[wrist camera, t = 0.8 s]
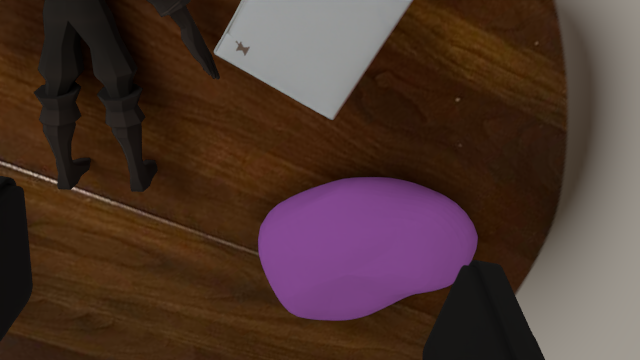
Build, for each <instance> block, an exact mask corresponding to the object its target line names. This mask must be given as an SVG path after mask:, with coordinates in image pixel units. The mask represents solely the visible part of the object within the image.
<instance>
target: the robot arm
mask: <svg viewBox="0 0 640 360" xmlns="http://www.w3.org/2000/svg"><path fill="white" fill-rule="evenodd" d="M32 286H33V283H32V272H31V262H30V251H29V240H28V230H27V219H26V208H25V197H24V191H23V189H22V188H21V187H19V186H16V183H15V181H14V179H12V178H9V177H3V176H0V341H1V340H2V338H3V337H4V335H5V334H6V333H7V331H8V330H9V328H10V327H11V325H12V324H13V322H14V321H15V320H16V318H17V317H18V315H19V314H20V312H21V311H22V309H23V308H24V307H25V305H26V304H27V302H28V300H29V298H30V296H31V292H32ZM423 360H545V359H544V356H543V354H542V352H541V350H540V348H539V345H538V343H537V341H536V339H535V337H534V336H533V334H532V332H531V330H530V328H529V326H528V323H527V321H526V319H525V317H524V315H523V312H522V310H521V308H520V306H519V304H518V301H517V299H516V297H515V295H514V293H513V290H512V288H511V286H510V284H509V282H508V280H507V277H506V275H505V273H504V271H503V269H502V267H501V266H500V265H498V264H494V263H488V262H483V261H477V260H473V261H472V262H470V264H469V265H463V266H462V267H461V269H460V271H459V273H458V275H457V277H456V279H455V281H454V283H453V286H452V288H451V290H450V292H449V294H448V296H447V299H446V301H445V303H444V305H443V307H442V309H441V312H440V314H439V316H438V318H437V320H436V322H435V325H434V327H433V329H432V331H431V333H430V335H429V338H428V340H427V342H426V344H425V347H424V350H423Z"/></svg>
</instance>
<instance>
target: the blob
mask: <svg viewBox="0 0 640 360" xmlns="http://www.w3.org/2000/svg"><path fill="white" fill-rule="evenodd" d="M477 239H478V236H477V233H476V230H475V227H474V224H473V222H472V221H471V219H470V218H469V217H468V215H467V214H466V212H465V211H464V210H463V209H462V208H461V207H460V206H459V205H458V204H457V203H455V202H454V201H452V200H451V199H449V198H448V197H446V196H445V195H443V194H440V193H438V192H436V191H434V190H431V189H429V188H427V187H424V186H421V185H418V184H416V183H412V182H409V181H405V180H400V179H394V178H384V177H356V178H347V179H341V180H337V181H332V182H329V183H326V184H323V185H320V186H317V187H314V188H311V189H309V190H306V191H304V192H301V193H299V194H297V195H294V196H292V197H290V198H288V199H286V200H285V201H283V202H281V203H279V204H278V205H277V206H276V207H274V208H273V209H272V210H271V211H270V212H269V213H268V215H267V216H266V218H265V220H264V221H263V223H262V225H261V227H260V232H259V238H258V247H259V256H260V260H261V264H262V267H263V269H264V272H265V274H266V276H267V278H268V281H269V283H270V285H271V287H272V289H273V291H274V292H275V294H276V296H277V297H278V299H279V300H280V302H281V303H282V305H283V306H284V307H285V308H286V309H287V310H288V311H289V312H290V313H292V314H294V315H297V316H299V317H303V318H308V319H316V320H350V319H356V318H360V317H363V316H366V315H369V314H372V313H374V312H376V311H378V310H381V309H383V308H385V307H387V306H389V305H391V304H393V303H395V302H397V301H399V300H401V299H403V298H405V297H408V296H410V295H413V294H418V293H424V292H429V291H435V290H438V289H441V288H445V287H448V286H449V285H451V284H453V283H454V281H455V279H456V277H457V275H458V273H459V271H460V269H461V267H462V266H463V265H469V264H470V262H471V261H472V258H473V256H474V253H475V251H476V248H477Z"/></svg>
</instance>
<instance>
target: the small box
mask: <svg viewBox="0 0 640 360" xmlns="http://www.w3.org/2000/svg"><path fill="white" fill-rule="evenodd" d="M412 2H413V0H241V2H240V4H239V6H238V8H237V10H236V12H235V14H234V16H233V18H232V19H231V21H230V23H229V25H228V27H227V29H226V30H225V32H224V34H223V36H222V37H221V39H220V41H219V43H218V44H217V46H216V48H215V50H214V53H215V55H217V56H219V57H221V58H222V59H224V60H226V61H228V62H229V63H231V64H233V65H235V66H237V67H238V68H240V69H242V70H244V71H246V72H247V73H249V74H251V75H253V76H254V77H256V78H258V79H260V80H261V81H263V82H265V83H267V84H268V85H270V86H272V87H274V88H276V89H277V90H279V91H281V92H283V93H284V94H286V95H288V96H290V97H291V98H293V99H295V100H297V101H298V102H300V103H302V104H304V105H305V106H307V107H309V108H311V109H313V110H314V111H316V112H318V113H320V114H322V115H324V116H325V117H327V118H328V119H330V120H333V119H335V117H336V115H337V114H338V112H339V111H340V109H341V108H342V106H343V105H344V103H345V102H346V100H347V99H348V97H349V96H350V94H351V93H352V91H353V90H354V88H355V87H356V85H357V84H358V82H359V81H360V79H361V78H362V76H363V75H364V73H365V72H366V70H367V69H368V67H369V66H370V64H371V63H372V61H373V60H374V58H375V57H376V55H377V54H378V52H379V51H380V49H381V48H382V46H383V45H384V43H385V42H386V40H387V39H388V37H389V36H390V35H391V33H392V32H393V30H394V29H395V27H396V26H397V24H398V23H399V21H400V19H401V18H402V16H403V15H404V13H405V12H406V10H407V9H408V8H409V6H410V5H411V3H412Z"/></svg>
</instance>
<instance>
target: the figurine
mask: <svg viewBox="0 0 640 360" xmlns="http://www.w3.org/2000/svg"><path fill="white" fill-rule="evenodd" d="M147 1H148V2H150V3H151V4H153V5H154V7H155V8H156V10H157V11H158V13H159V14H160V16H161V17H163V16H166V15H170V16H171V18H172V19H173V20H174V21H175V22H176V23H177V24H178V26H179V27H180V28H181V39H182V41H183V42H184V44H185V45H186V47H187V48H188V50H189V51H190V53H191V54H192V55H193V57H194V58H195V59H196V60H197V61H198V62H199V63H200V64H201V66H202V67H203V69H204V70H205V71H206V72H207V73H208V74H209V75H211V76H212V78H213V79H215V78H216V79H217V80H218V79H219V78H220V76H219V73H218V71H217V68H216V65H215V63H214V60H213V57H212V55H211V53H210V51H209V49H208V48H207V46H206V44H205V42H204V39H203V37H202V35H201V34H200V32H199V30H198V28H197V26H196V24H195V22H194V20H193V18H192V16H191V15H190V13H189V11H188V9H187V7H186V4H188V3H189V2H190V0H147ZM43 22H44V33H45V40H44V44H43V49H42V53H41V58H40V62H39V67H38V71H39V72H40V74H41V75H42V76H43V77H44V78H45V80H46V84H45V85H41V86H40V87H39V88H38V89H37V90H36V91H35V92H34V94H35V95H36V97H37V98H38V100H39V101H40V102H41V104H42V105H43V108H42V111H41V115H40V118H39V120H40V121H41V122H42V123H43V132H44V134H45V136H46V138H47V140H48V142H49V144H50V146H51V148H52V151H53V153H54V156H55V158H56V165H57V169H58V183H57V186H58V189H72V188H73V187H74V186H75V185H76V184H77V183H78V181H79V179H80V177H81V176H82V175H83V174H84V173H85V172H87V171H88V170H89V168H90V162H91V161H90V158H79V159H75V160H72V157H71V140H72V137H73V133H74V130H75V126H76V123H75V121H77V120H78V119H79V118H80V117H81V113H80V111H79V109H78V106H77V104H76V102H75V101H76V99H77V96H78V94H79V91H80V89H81V86H80V85H79V84H78V83H76V82H75V80H76V78H77V77H78V76H79V75H80V74H81V73H82V72H83V70H84V64H83V58H82V52H81V47H80V39H81V37H82V38H83V40H84V41H85V42H86V43H87V45H88V46H89V47H90V50H91V57H92V65H93V72H94V76H95V77H96V78H97V79H99V80H100V81H101V82H102V83H103V84H104V86H105V87H103V88H102V89H101V90H100V91H99V93H98V94H97V96H98V97H99V99H100V100H101V101H102V103H103V104H104V106H105V107H106V122H105V123H106V124H108V125H109V126H110V127H112V133H113V134H114V136H115V137H116V139H117V140H118V142H119V143H120V145H121V147H122V149H123V152H124V154H125V157H126V159H127V162H128V168H129V172H130V186H131V191H138V192H144V191H145V190H146V189H147V188H148V187H149V186H150V184H151V181H152V178H153V177H154V175H155V174H156V172H157V171H158V169H157V164H156V162H155V160H145V161H143V160H142V126H141V122H142V121H143V120H144V119H145V115H144V114H143V112H142V110H141V109H140V107H139V106H138V104H137V103H138V100H139V97H140V95H141V92H142V89H143V88H141V87H140V86H138V85H137V84H135V83H133V78H134V75H135V73H136V71H137V69H138V67H137V66H136V64H135V62H134V60H133V58H132V57H131V55H130V53H129V51H128V50H127V48H126V46H125V44H124V42H123V41H122V39H121V37H120V34H119V31H118V29H117V26H116V23H115V20H114V16H113V13H112V12H111V10H110V9H109V7H108V5H107V3H106V2H105V0H45V2H44V8H43Z"/></svg>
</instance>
